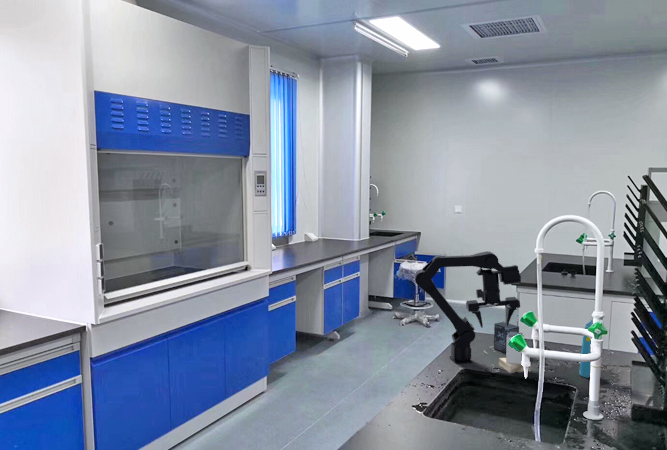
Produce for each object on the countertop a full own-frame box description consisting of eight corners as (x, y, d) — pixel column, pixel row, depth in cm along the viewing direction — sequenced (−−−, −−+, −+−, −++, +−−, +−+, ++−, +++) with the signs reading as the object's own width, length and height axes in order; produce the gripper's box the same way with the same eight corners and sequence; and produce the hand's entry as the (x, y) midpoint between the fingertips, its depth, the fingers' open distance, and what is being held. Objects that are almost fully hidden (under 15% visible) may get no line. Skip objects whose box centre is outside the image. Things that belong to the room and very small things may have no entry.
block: (510, 374, 177) (510, 365, 177) (498, 366, 185) (499, 358, 185) (530, 372, 179) (531, 364, 178) (518, 364, 187) (519, 356, 186)
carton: (506, 362, 180) (506, 335, 180) (507, 357, 185) (508, 331, 185) (522, 364, 178) (523, 336, 177) (523, 359, 183) (524, 332, 182)
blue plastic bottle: (593, 380, 170) (594, 324, 168) (577, 377, 173) (579, 322, 171) (596, 373, 176) (598, 319, 174) (581, 370, 179) (583, 317, 177)
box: (493, 349, 203) (493, 323, 202) (503, 346, 205) (504, 321, 204) (508, 354, 196) (509, 328, 195) (519, 352, 198) (519, 326, 198)
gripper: (510, 278, 194) (513, 318, 196) (461, 283, 196) (465, 322, 197) (519, 285, 183) (522, 327, 185) (467, 289, 185) (470, 331, 186)
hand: (494, 326), depth 188 cm, fingers open, 9 cm apart
